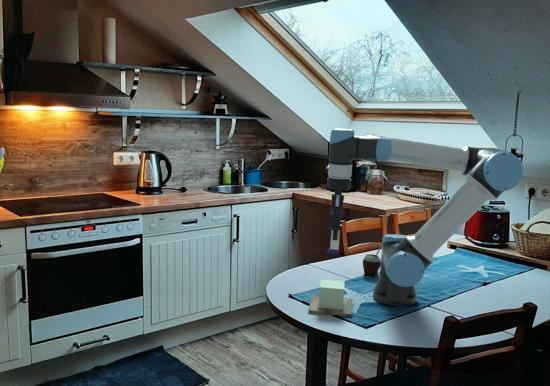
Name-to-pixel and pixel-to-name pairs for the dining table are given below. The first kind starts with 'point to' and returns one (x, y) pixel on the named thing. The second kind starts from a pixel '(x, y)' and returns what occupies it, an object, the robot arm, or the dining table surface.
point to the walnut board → (326, 311)
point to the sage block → (331, 294)
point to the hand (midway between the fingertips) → (334, 247)
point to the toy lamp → (329, 251)
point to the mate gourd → (371, 264)
